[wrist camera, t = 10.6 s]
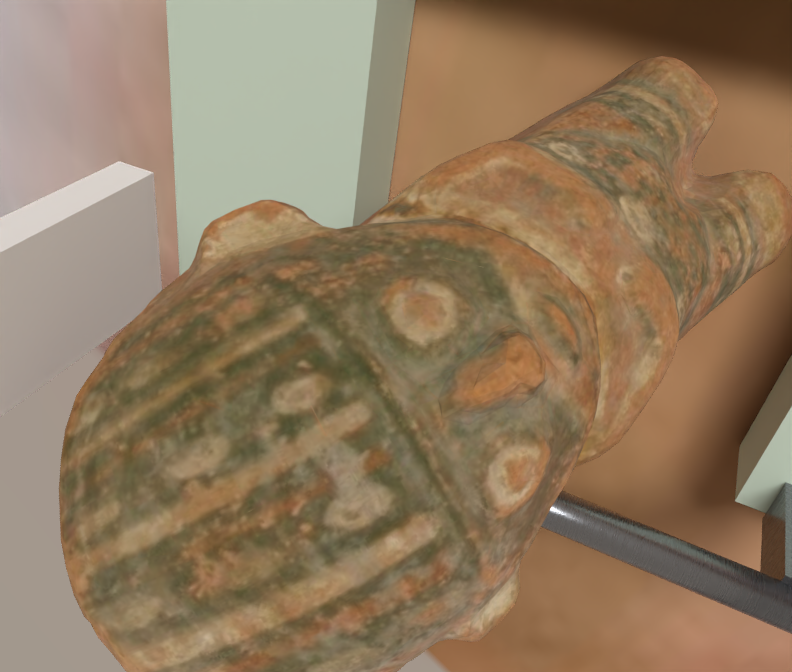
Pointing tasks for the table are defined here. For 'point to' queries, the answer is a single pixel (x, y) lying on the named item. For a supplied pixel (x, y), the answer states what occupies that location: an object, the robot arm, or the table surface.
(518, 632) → the table surface
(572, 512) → the bar handle
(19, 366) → the robot arm
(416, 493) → the figurine
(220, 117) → the pale green u-shaped slab
